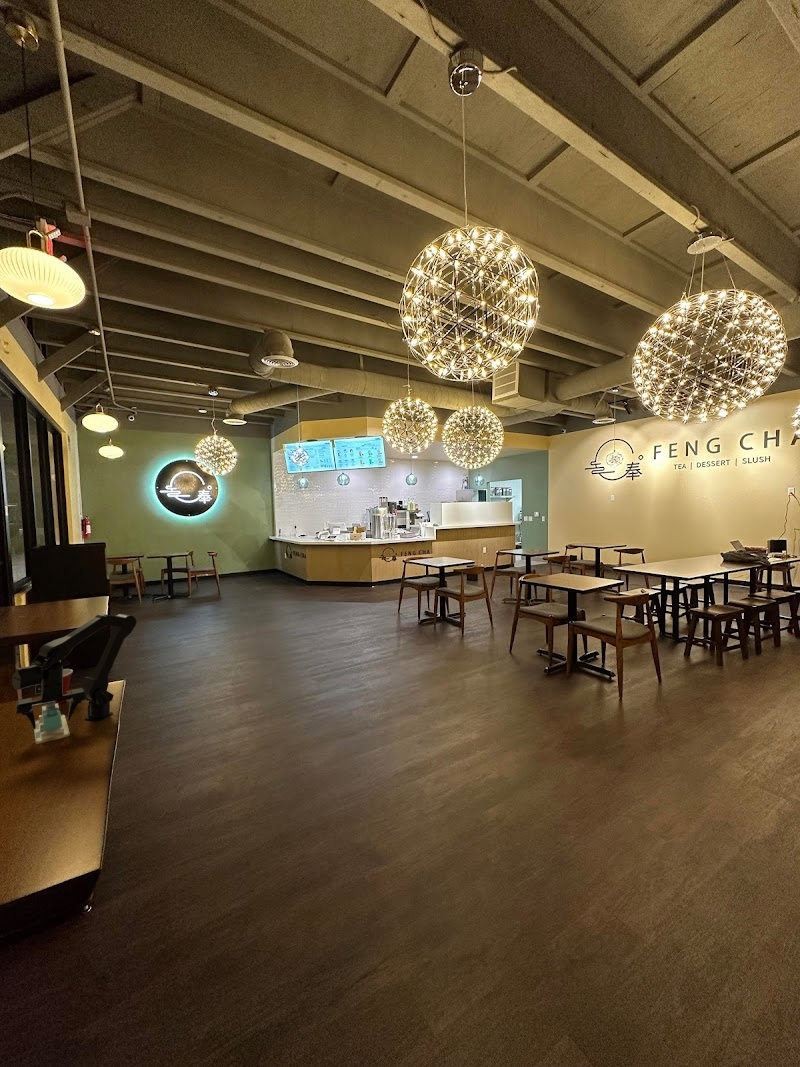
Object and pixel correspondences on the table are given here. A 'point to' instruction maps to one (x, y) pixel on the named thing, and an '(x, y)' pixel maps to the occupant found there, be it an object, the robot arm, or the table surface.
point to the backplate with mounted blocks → (50, 731)
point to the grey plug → (45, 708)
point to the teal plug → (51, 719)
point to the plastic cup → (65, 681)
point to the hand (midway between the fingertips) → (52, 724)
